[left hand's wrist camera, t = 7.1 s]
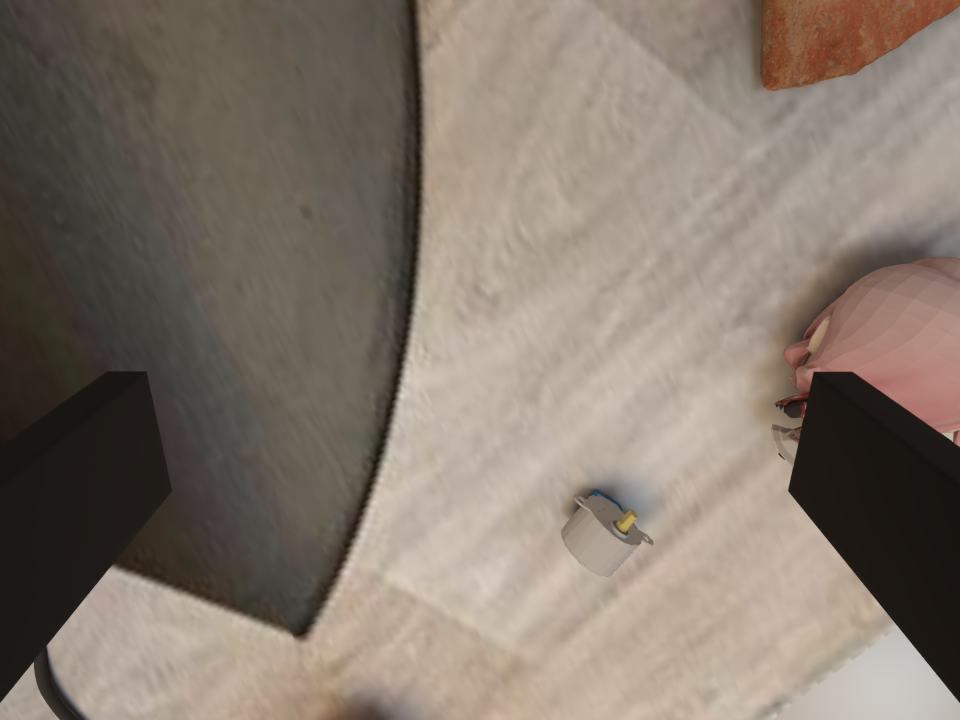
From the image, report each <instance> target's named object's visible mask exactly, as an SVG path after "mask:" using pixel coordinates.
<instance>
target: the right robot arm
mask: <svg viewBox="0 0 960 720" xmlns="http://www.w3.org/2000/svg"><path fill="white" fill-rule="evenodd" d="M34 670H35V677H36V682H37V685H38V688H39V690H40V692H41V694H42V696H43V698H44V699H45V701H46V703H47V704H48V705H49V707H50V708H51V709H52V711H53V712H54V713H55V715H56V716H57V717H58V718H59V719H60V720H78V719H77V718H76V717H75V716H74V715H73V714H72V712H71V711H70V710H69V709H68V708H67V707H66V706H65V704H64V703H63V702H62V700H61V699H60V697H59V696H58V695H57V693H56V691H55V690H54V688H53V686H52V683H51V680H50V677H49V672H48V664H47V650H46V647H45V648H44V649H43V651H42V652H41V653H40V654H39V656H38V657H37V658H36V659H35V660H34Z"/></svg>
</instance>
